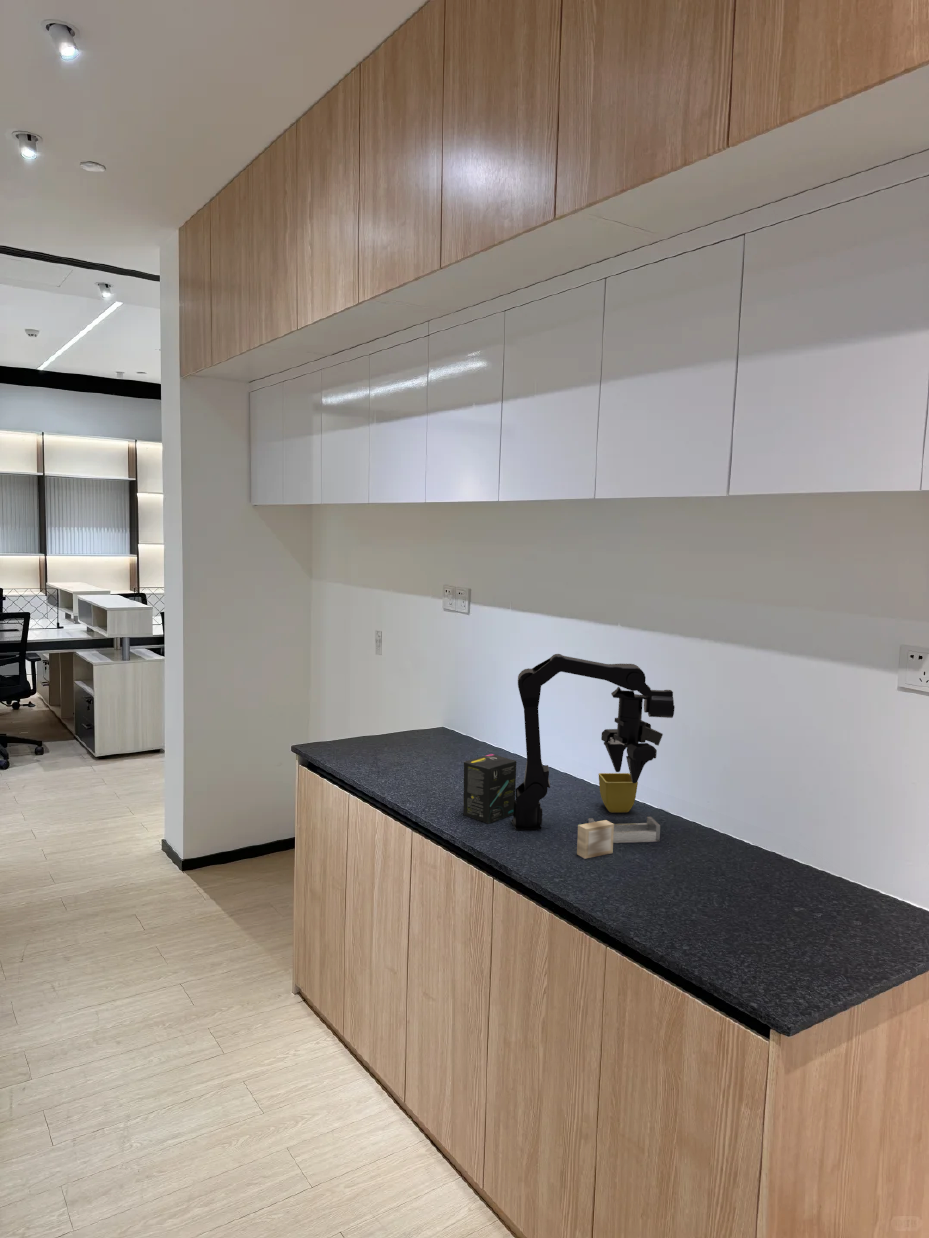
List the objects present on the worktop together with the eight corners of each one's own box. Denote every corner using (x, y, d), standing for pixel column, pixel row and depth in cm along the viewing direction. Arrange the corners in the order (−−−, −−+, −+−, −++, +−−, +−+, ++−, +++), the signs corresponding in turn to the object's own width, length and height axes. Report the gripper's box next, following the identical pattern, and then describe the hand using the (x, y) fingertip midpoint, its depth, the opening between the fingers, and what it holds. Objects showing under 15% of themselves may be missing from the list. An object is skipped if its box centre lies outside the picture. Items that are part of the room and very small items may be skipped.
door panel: (585, 859, 189) (586, 829, 188) (576, 854, 192) (578, 824, 191) (613, 853, 193) (614, 824, 192) (604, 848, 196) (605, 819, 195)
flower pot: (596, 804, 227) (598, 772, 226) (628, 804, 228) (629, 772, 227) (604, 815, 218) (605, 782, 217) (637, 815, 219) (638, 782, 218)
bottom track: (595, 843, 198) (596, 827, 198) (588, 834, 205) (588, 818, 204) (659, 841, 201) (660, 825, 200) (650, 832, 207) (650, 816, 206)
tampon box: (489, 805, 224) (491, 752, 223) (515, 814, 218) (517, 759, 216) (461, 815, 216) (462, 760, 215) (487, 824, 210) (489, 767, 208)
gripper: (678, 723, 198) (674, 787, 200) (641, 706, 216) (637, 765, 218) (636, 724, 195) (632, 789, 197) (602, 707, 213) (598, 767, 215)
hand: (626, 777), depth 207 cm, fingers open, 9 cm apart
